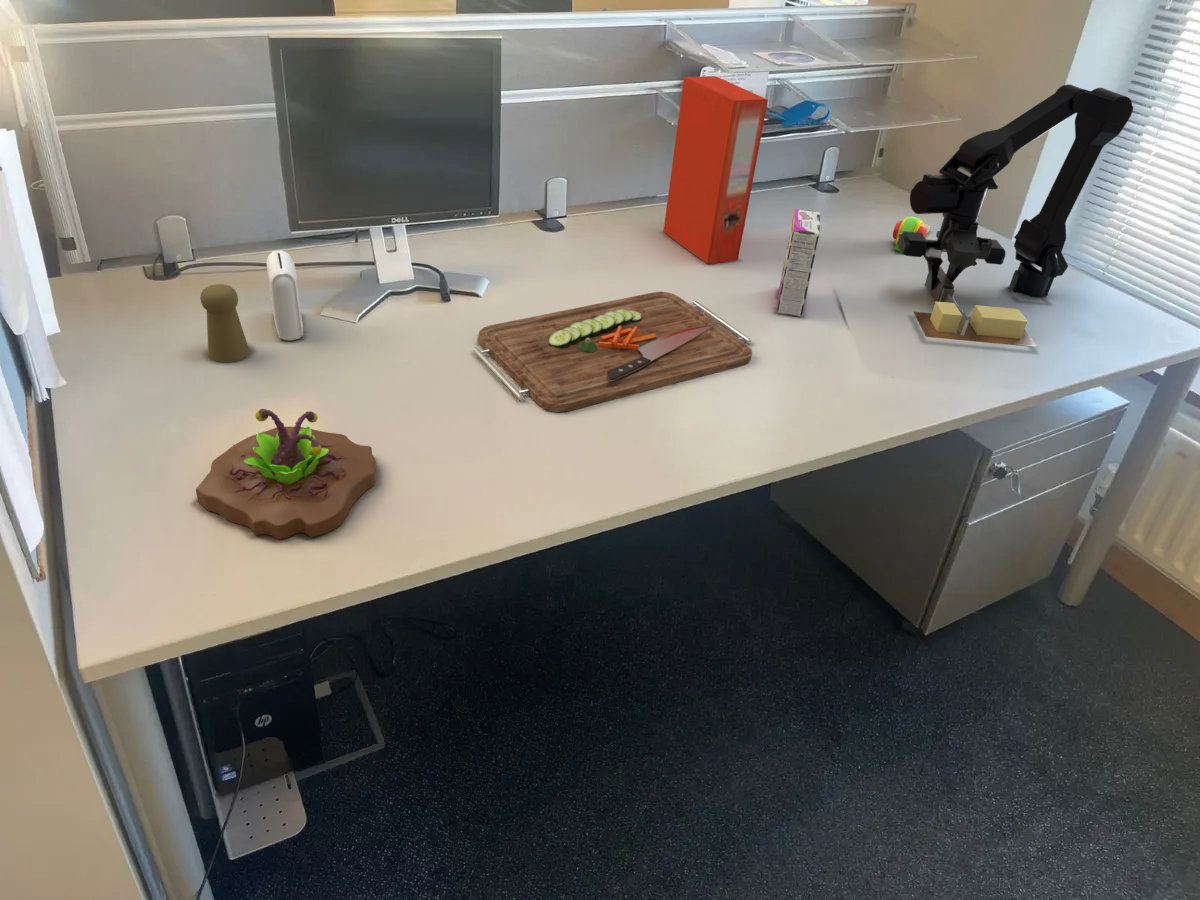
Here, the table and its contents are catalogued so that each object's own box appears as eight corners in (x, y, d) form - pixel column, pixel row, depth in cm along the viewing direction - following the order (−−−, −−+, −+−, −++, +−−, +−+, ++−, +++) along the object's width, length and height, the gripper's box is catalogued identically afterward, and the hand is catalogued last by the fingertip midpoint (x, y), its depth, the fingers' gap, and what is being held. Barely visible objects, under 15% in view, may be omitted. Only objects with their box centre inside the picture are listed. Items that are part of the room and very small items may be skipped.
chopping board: (678, 293, 170) (680, 278, 168) (770, 358, 152) (773, 342, 150) (459, 338, 149) (458, 321, 148) (535, 419, 131) (536, 401, 129)
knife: (935, 286, 178) (941, 267, 176) (968, 335, 161) (975, 315, 158) (924, 285, 178) (930, 266, 176) (956, 334, 161) (963, 314, 158)
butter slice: (948, 320, 167) (954, 302, 165) (956, 333, 163) (962, 315, 161) (929, 319, 167) (935, 301, 165) (937, 331, 163) (943, 313, 161)
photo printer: (273, 313, 151) (262, 244, 144) (299, 311, 153) (290, 242, 146) (277, 342, 144) (266, 271, 137) (305, 340, 145) (296, 268, 138)
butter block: (1011, 326, 167) (1018, 308, 165) (1020, 339, 163) (1027, 321, 161) (968, 322, 167) (975, 304, 165) (976, 335, 163) (983, 317, 161)
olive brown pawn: (257, 348, 142) (247, 284, 135) (233, 365, 137) (221, 300, 131) (225, 340, 143) (213, 276, 137) (199, 356, 138) (186, 291, 132)
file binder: (694, 229, 198) (716, 75, 179) (739, 259, 186) (768, 98, 167) (663, 233, 194) (682, 77, 176) (706, 264, 182) (732, 100, 164)
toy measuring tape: (882, 250, 196) (890, 221, 192) (911, 226, 210) (919, 199, 206) (910, 258, 193) (919, 229, 190) (938, 234, 207) (947, 206, 203)
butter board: (1017, 327, 170) (1019, 321, 169) (1035, 352, 161) (1037, 347, 161) (911, 317, 170) (913, 311, 169) (924, 342, 161) (926, 336, 161)
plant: (268, 427, 125) (257, 357, 118) (397, 460, 121) (392, 389, 114) (172, 513, 109) (152, 437, 102) (316, 553, 105) (306, 477, 98)
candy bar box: (777, 289, 175) (794, 207, 166) (803, 293, 175) (821, 211, 165) (774, 314, 166) (792, 229, 157) (801, 318, 166) (821, 233, 156)
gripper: (922, 222, 158) (898, 303, 167) (1028, 232, 159) (998, 312, 168) (908, 200, 168) (886, 278, 177) (1007, 210, 168) (981, 287, 177)
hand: (937, 289), depth 174 cm, fingers closed on knife, 2 cm apart
